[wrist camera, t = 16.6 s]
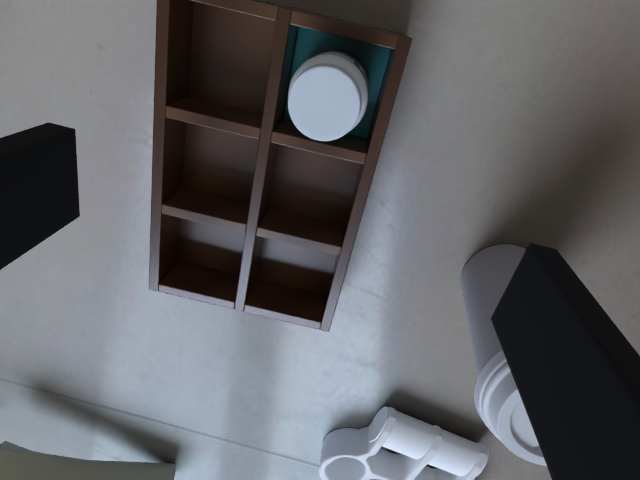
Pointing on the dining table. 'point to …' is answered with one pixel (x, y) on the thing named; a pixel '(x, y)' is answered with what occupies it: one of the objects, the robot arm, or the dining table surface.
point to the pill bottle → (328, 95)
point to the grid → (258, 158)
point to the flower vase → (74, 467)
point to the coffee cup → (496, 351)
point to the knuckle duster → (399, 451)
